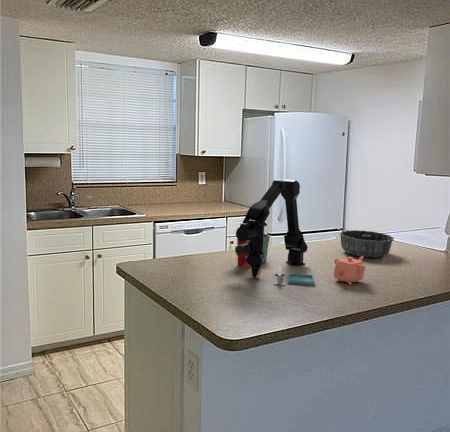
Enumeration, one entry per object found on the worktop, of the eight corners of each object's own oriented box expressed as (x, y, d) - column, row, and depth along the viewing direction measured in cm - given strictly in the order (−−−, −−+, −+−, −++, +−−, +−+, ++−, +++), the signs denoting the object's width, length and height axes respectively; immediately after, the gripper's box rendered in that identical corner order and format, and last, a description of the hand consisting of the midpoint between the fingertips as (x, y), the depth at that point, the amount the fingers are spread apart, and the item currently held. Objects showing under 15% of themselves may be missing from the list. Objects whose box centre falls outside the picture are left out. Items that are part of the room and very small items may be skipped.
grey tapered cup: (243, 261, 220) (244, 235, 218) (250, 256, 229) (251, 232, 227) (264, 264, 216) (265, 238, 214) (270, 259, 226) (272, 234, 224)
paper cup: (251, 268, 208) (252, 237, 206) (234, 267, 209) (235, 235, 207) (253, 264, 215) (255, 233, 213) (237, 262, 217) (238, 232, 215)
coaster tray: (288, 276, 198) (288, 273, 197) (313, 278, 196) (313, 274, 196) (288, 283, 188) (288, 280, 187) (314, 285, 186) (314, 282, 186)
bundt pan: (397, 253, 247) (399, 234, 246) (384, 263, 225) (386, 243, 224) (348, 246, 261) (349, 228, 260) (331, 254, 239) (332, 235, 238)
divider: (275, 273, 201) (275, 264, 200) (284, 274, 200) (285, 265, 200) (273, 285, 185) (274, 275, 185) (284, 285, 185) (284, 275, 184)
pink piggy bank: (364, 288, 186) (366, 262, 184) (333, 285, 188) (335, 260, 186) (361, 278, 199) (363, 254, 198) (332, 275, 202) (334, 252, 200)
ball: (256, 275, 197) (257, 263, 197) (263, 278, 193) (263, 266, 192) (246, 276, 195) (246, 265, 194) (252, 280, 191) (253, 268, 190)
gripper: (239, 232, 202) (237, 268, 204) (233, 241, 183) (232, 280, 186) (265, 233, 200) (263, 269, 203) (263, 243, 182) (261, 282, 184)
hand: (254, 275), depth 194 cm, fingers open, 6 cm apart
